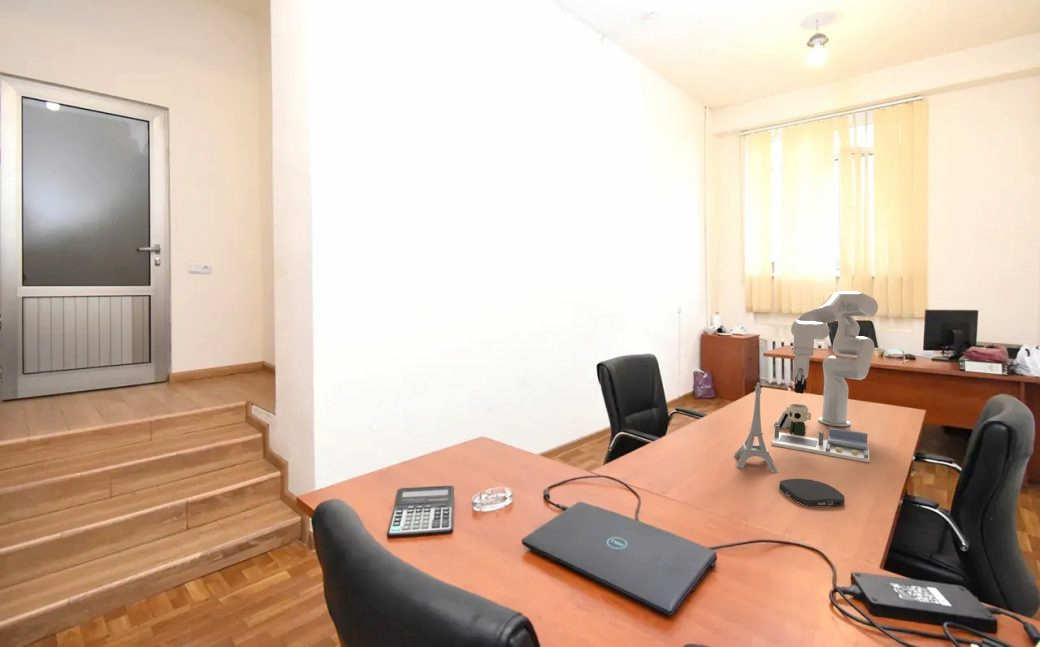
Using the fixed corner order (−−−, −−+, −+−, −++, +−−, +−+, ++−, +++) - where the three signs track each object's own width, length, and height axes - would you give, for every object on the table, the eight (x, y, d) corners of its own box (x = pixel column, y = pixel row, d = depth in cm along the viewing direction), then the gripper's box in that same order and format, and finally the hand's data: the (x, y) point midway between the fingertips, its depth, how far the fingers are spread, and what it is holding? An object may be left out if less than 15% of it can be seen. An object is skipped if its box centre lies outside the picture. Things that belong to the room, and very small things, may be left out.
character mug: (780, 432, 209) (781, 403, 207) (790, 430, 212) (792, 401, 211) (804, 440, 199) (805, 409, 198) (814, 437, 202) (816, 407, 201)
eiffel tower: (736, 467, 170) (739, 385, 167) (733, 454, 182) (736, 378, 180) (778, 472, 165) (782, 388, 163) (772, 459, 178) (776, 380, 175)
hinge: (792, 419, 228) (800, 402, 224) (801, 425, 224) (810, 407, 221) (773, 425, 219) (781, 407, 215) (782, 431, 215) (791, 413, 212)
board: (777, 434, 206) (777, 420, 205) (868, 449, 187) (869, 434, 186) (771, 445, 193) (772, 430, 192) (869, 462, 174) (870, 446, 174)
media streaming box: (818, 486, 155) (818, 477, 155) (850, 507, 140) (851, 497, 140) (774, 487, 154) (774, 478, 154) (802, 508, 140) (802, 498, 140)
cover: (829, 437, 194) (829, 427, 194) (866, 443, 187) (867, 433, 187) (828, 442, 188) (828, 432, 187) (866, 449, 180) (867, 438, 180)
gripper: (795, 348, 211) (792, 386, 212) (790, 352, 197) (787, 393, 198) (815, 350, 207) (812, 389, 208) (811, 354, 193) (808, 396, 194)
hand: (800, 391), depth 203 cm, fingers open, 9 cm apart
